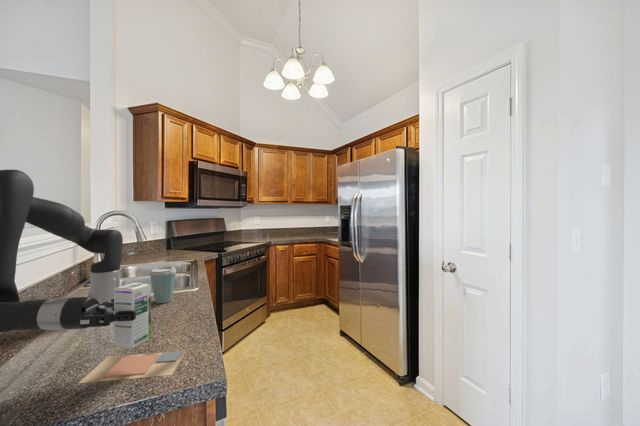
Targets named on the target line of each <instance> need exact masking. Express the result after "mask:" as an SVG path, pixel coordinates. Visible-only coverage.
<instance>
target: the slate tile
mask: <svg viewBox="0 0 640 426" xmlns="http://www.w3.org/2000/svg"><path fill="white" fill-rule="evenodd" d="M182 351H183V350H178V351H177V350H176V351H175V350H174V351H163V352H161V353H162V354H161V355H160V357H159V358H158V359H157V360H156V363H160V362H172V361H177V359H178V357H179V356H180V354H181V353H182Z"/></svg>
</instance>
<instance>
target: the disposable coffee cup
mask: <svg viewBox="0 0 640 426" xmlns="http://www.w3.org/2000/svg"><path fill="white" fill-rule="evenodd" d="M176 273H177V269H176V268H175V266H171V265H168V266H161V267H157V268H154V269H151V271H150V272H149V276H150V282H151V283H150V284H151V289H152V292H153V297H154V301H155V303H156V304H166V303H169V302H171V301H172V299H173V294H174V286H175V278H176Z"/></svg>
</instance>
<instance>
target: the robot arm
mask: <svg viewBox="0 0 640 426" xmlns="http://www.w3.org/2000/svg"><path fill="white" fill-rule="evenodd" d="M34 187H35V185H34V182H33V180H32V179H31V177H30V176H29V175H28V174H27V173H25V172H24V171H22V170H18V169H0V333H7V332H13V331H39V330H47V331H49V330H50V331H60V330H61V331H62V330H63V331H65V330H82V329H88V328H98V327H108V326H111V324H114V323H116V322H117V321H133V320H135V319H136V311H119V312H118V313H117V311H114V289H115V288H118V287H121V264H122V260H123V257H122V256H123V244H124V243H123V242H124V240H123V235H122V233H121V231H120V230H118V229H96V228H95V229H94V228H91V227H89V226H87V225H86V222H85V219H84V217H83V216H82V214H81V213H79V212H78V211H76V210H75V209H73V208H71V207H69V206H68V205H65V204H64V203H60V202H56V201H53V200H49V199H45V198H41V197H36V196H34V191H35V188H34ZM26 224H30V225H31V226H34V227H36V228H38V229H41V230H42V231H44V232H47V233H49V234H52V235H54V236H57V237H60V238H62V239H64V240H66V241H69V242H71V243H74V244H76V245H78V246H79V247H81V248H83V249H84V250H86V251H87V252H89V253H93V254H104V255H103V259H102V260H100V261H97V262H94V263H92V264H91V265H90V268H89V269H90V278H89V279H90V281H89V282H90V284H89V285H90V291H89V292H87V296H73V297H72V296H70V297H57V298H47V299H46V298H44V299H30V300H24V301H21V299H20V296H19V291H18V288H17V284H16V281H15V279H16V271H17V261H18V260H17V259H18V258H17V257H18V251H19V245H20V242H21V238H22V234H23V232H24V228H25V225H26Z"/></svg>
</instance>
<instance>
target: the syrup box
mask: <svg viewBox="0 0 640 426" xmlns="http://www.w3.org/2000/svg"><path fill="white" fill-rule="evenodd" d="M114 311H117V313H118V312H119V311H136V319H135V320H133V321H117V322H116V323H113V345H114V346H117V347H123V348H129V349H133V348H135V347H136V346H138V345H140V344H141V343H144V342H146V341H148V340H150V339H151V337H152V283H147V282H146V283H145V282H131V283H129V284H125V285H122V286H120V287H118V288H115V289H114Z"/></svg>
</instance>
